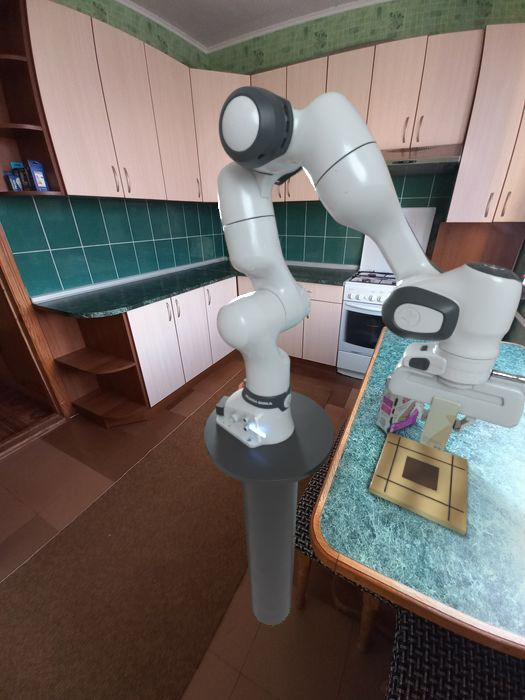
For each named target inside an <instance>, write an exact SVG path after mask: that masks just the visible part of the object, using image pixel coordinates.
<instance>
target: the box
mask: <svg viewBox="0 0 525 700" xmlns="http://www.w3.org/2000/svg"><path fill="white" fill-rule="evenodd" d="M460 406H461V404H459V403H456V402H453V401H449V400H445V399H442V398H438V397H433V400H432V403H431V405H429V409H428V411H429V412H428V415H427V418H426V422H424V425H423V428H422V430H421V435H420V438H419V441H418V442H419V443H422V444H424V445H426V446H428V447H430V448H433V449H435V450H437V451H440V452H443V451H445V449H446V446H447V443H448V441H449V438H450V436H451V433H452V431H453V425H454V423H455V420H456V419H457V417H458V411H459V408H460Z"/></svg>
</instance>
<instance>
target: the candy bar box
mask: <svg viewBox="0 0 525 700" xmlns="http://www.w3.org/2000/svg"><path fill="white" fill-rule="evenodd" d="M391 377H392V375H389V376H386V377H385V381H384V386H383V391H382V395H381V399H380V403H379V408H378V411H377V415H376V420H375V426H377V427H378V428H379V429H380V430H382V431H383V432H384V433H385V434H386V435H388V433H389V432H391V433H394V432H395V433H396V432H397V431H399V430H402V429H403V428H406V427H408V426H410V425H413V424H415V423H416V421H417V420H418V416H419V412H418V410H417V407H416V405H415V404H416V401H415V400H411V399H408V398H405V397H401V396H398V395H394V394H392V393H391V392H390V391H389V389H388V385H389V382H390V379H391Z"/></svg>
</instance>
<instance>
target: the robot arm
mask: <svg viewBox="0 0 525 700" xmlns="http://www.w3.org/2000/svg"><path fill="white" fill-rule="evenodd" d="M218 136H219V140H220V143H221V146H222V148H223V151H224V152H225V153H226V155H227V156H228V157H229V158H230V159H231V160H232V161H231V162H229V163H228V164H226V165H225V166H224V167H222V168H221V170H220V171H219V173H218V175H217V176H218V177H217V180H216V181H217V182H216V183H217V201H218V209H219V216H220V221H221V225H222V229H223V230H222V231H223V235H224V240H225V243H226V247H227V252H228V256H229V261H230V264H231V266H232V267H233V268H234V270H236V271H238V272H239V273H242V274H244V275H245V276H246V277H247V278H248V279H249V280H250V283H251V285H252V286H253V290H254V291H252V292H248V293H246V294H243V295H239V296H236V297H234V298H233V299H232V300H231V301H229V302H226V303H225V304H224V305H223V306H221V307H220V308H219V310H218V312H217V316H216V329H217V332H218V334H219V336H220V338H221V340H222V341H223V342H224V344H226V345H227V346H229V347H231V348H233V349H235V350H237V351H238V352H239V353H240V354H241V357H242V358H243V362H244V368H245V377H246V378H244V379H243V381H242V382H241V383H239V385H237V387H238V389H237V390H236V391H235V392H233V393H232V394H231V395H230V396H227V395H223V396H222V397H221V399H219V401H218V402H217V403H216V404H215V408H216V414H218V415H217V418H216V423H217V424H219V425H220V426H221V427H223V428H224V429H225V430H227V431H228V432H229V433H231V434H232V435H233V436H235V437H236V438H237V439H239V440H240V441H241V442H243V443H244V444H246V445H247V446H248V447H250V448H255V447H258V446H261V445H268V444H276V443H280V442H282V441H284V440H286V439H288V438H289V437H290V436H291V435H292V433H293V431H294V422H293V419H292V415H291V409H290V402H291V391H292V383H291V380H290V379H291V358H290V356H289V354H288V353H287V352H286V351H285V350H284V349H282V348H281V347H279V346H278V337H279V335H280V334H282V333H284V332H286V331H288V330H290V329H292V328H295V327H296V326H298V325H299V324H300V323H301V322H302V321H303V320H304V319H305V318H306V317H307V316H308V315H309V313H310V311H311V309H312V300H311V296H310V293H309V291H308V290H307V288H305V286H304V285H302V284H300V283H299V282H298V281H297V280H296V279H295V277H294V276H293V275H292V273H291V271H290V269H289V267H288V264H287V262H286V260H285V258H284V257H285V256H284V255H283V251H282V246H281V241H280V237H279V231H278V227H277V225H278V224H277V219H276V215H275V210H274V204H273V195H272V193H273V187H274V186H282V185H284V184H285V183H286V182H287V181H288V180H290V179H291V178H292V177H294V176H295V175H297V174H299V173H300V172H301V171H304V172H305V174H306V176H307V178H308V179H309V180H310V183H311V185H312V187H313V189H314V191H315V192H316V195H317V196H318V199H319V201H320V202H321V205H322V206H323V207H324V208H325V210H326V211H327V213H328V214H329V215H330V216H331V217H332V218H333V220H334V221H335V222H336V223H337V224H339V225H342V226H344V227H348V228H350V229H353V230H356V231H358V232H360V233H362V234H364V235H365V236H367V237H368V238H369V239H370V240H372V241H373V243H375V245H376V246H377V248H378V250H379V251H380V253H381V255H382V257H383V259H384V260H385V261H386V263H387V265H388V267H389V269H390V271H391V272H392V274H393V276H394V278H395V284H396V285H395V287H394V288H393V289H392V290H391V291H390V293H389V294H387V295H386V297H385V298H384V299H383V302H382V305H381V312H380V313H381V319H382V321H383V324H384V326H385V327H386V328H387V329H388V330H389V331H390V332H391V333H392V334H394V335H396V336H398V337H399V338H402V339H407V340H408V339H409V340H418V341H425V342H410V343H409V344H408V345H407V347H406V348H405V349H404V350H403V351H404V352H403V354H402V357H401V358H400V359H399V360H398V361H397V364H396V366H395V368H394V370H393V371H392V373H391V374H392V375H391V376H392V377H391V379H390V382H389V385H388V389H389V391H390V392H391V393H392V394H394V395H398V396H401V397H405V398H408V399H411V400H415V401H416V404H415V405H416V407H417V410H418V412H419V413H418V416H417V420H419V421H421V422H424V423H425V422H426V418H427V415H428V412H429V409H425V407H424V406H425V405H429V406H431V403H432V400H433V397H438V398H442V399H445V400H449V401H453V402H456V403H459V404H461V406H460V408H459V411H458V414H459V415H462V416H464V417H463V418H462V419H457V418H456V420H455V423H454V425H453V428H452V431H453V432H455V433H459V434H463V432H464V429H465V428H467V427H470V426H471V425H473V424H475V423H476V421H477V420H478V421H482V422H486V423H488V424H492V425H495V426H500V427H502V428H506V429H511V428H515V427H517V426H518V425H519V423H520V421H521V418H522V415H523V412H524V408H525V376H524V375H522V374H514V373H510V372H507V371H503V370H498V369H494V367H495V365H496V363H497V360H498V358H499V355H500V352H501V342H502V340H503V339H504V337H505V335H507V333H508V332H509V331H510V329H511V326H512V324H513V321H514V319H515V316H516V313H517V310H518V308H519V305H520V300H521V297H522V291H523V283H522V281H521V278H520V277H519V276H518V275H517V274H516V273H515V272H514V271H513V270H511V269H509V268H506V267H505V266H501V265H498V264H494V263H489V262H484V261H467V262H466V263H464V264H462V265H460V266H458V267H456V268H453V269H451V270H448V271H445V270H443V269H442V268H440V267H439V266H438V265H436V264H435V263H434V262H432V261H431V260H430V259H429V256H428V255H427V254H426V252H425V250H424V249H423V247H422V245H421V243H420V242H419V240H418V238H417V236H416V234H415V232H414V231H413V229H412V227H411V226H410V223H409V222H408V219H407V217H406V215H405V214H404V211H403V208H402V205H401V203H400V200H399V197H398V195H397V191H396V188H395V186H394V183H393V179H392V176H391V173H390V171H389V168H388V166H387V162H386V160H385V158H384V156H383V153H382V151H381V149H380V146H379V144H378V143H377V141H376V139H375V137H374V135H373V133H372V131H371V130H370V128H369V126H368V125H367V123H366V122H365V120H364V118H363V117H362V115H361V113H360V112H359V111H358V110H357V108H356V107H355V106H354V105H353V103H352V102H351V101H350V100H349V98H348V97H346V95H344V94H343V93H341V92H339V91H327V92H324V93H322V94H320V95H318V96H316V97H315V98H313V99H312V100H311V101H310V102H309V103H308V104H307V105H306V106H305V107H303V108H301V109H297V108H296V107H295V106H294V105H293V104H292V103H291V102H290V100H289V99H287V98H285V97H283V96H280V95H279V94H277V93H274V92H273V91H271V90H268V89H266V88H264V87H261V86H253V85H246V86H240V87H238V88H236V89H235V90H233V91H232V92H231V93H230V94H228V96H227V97H226V99H225V101H224V102H223V104H222V107H221V109H220V113H219V119H218Z"/></svg>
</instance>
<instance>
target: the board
mask: <svg viewBox="0 0 525 700" xmlns="http://www.w3.org/2000/svg"><path fill="white" fill-rule="evenodd" d="M375 467H376V468H375V470H374V473H373V476H372V479H371V482H370V483H369V484H370V485H369V487H368V493H371V494H373V495H375V496H377V497H379V498H381V499H383V500H386V501H388V502H390V503H393V504H395V505H397V506H399V507H401V508H403V509H405V510H408V511H409V512H412V513H414V514H416V515H419V516H421V517H423V518H425V519H427V520H429V521H431V522H433V523H436V524H438V525H439V526H443V527H445V528H447V529H449V530H451V531H453V532H455V533H458V534H459V535H461V536H465V535H466V533H467V517H468V516H467V515H468V512H467V511H468V510H467V509H468V458H465V457H462V456H460V455H456V454H454V453H451V452H448V451H445V450H444V451H443V452H440V451H437V450H435V449H433V448H430V447H428V446H426V445H424V444H422V443H420V442H419V441H416V440H413V439H411V438H408V437H405V436H402V435H399V434H397V433H394V432H392V433H391V432H389V433H388V434H387V435H386V439H385V442H384V443H383V447H382V450H381V453H380V456H379V459H378V461H377V463H376V466H375Z"/></svg>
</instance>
